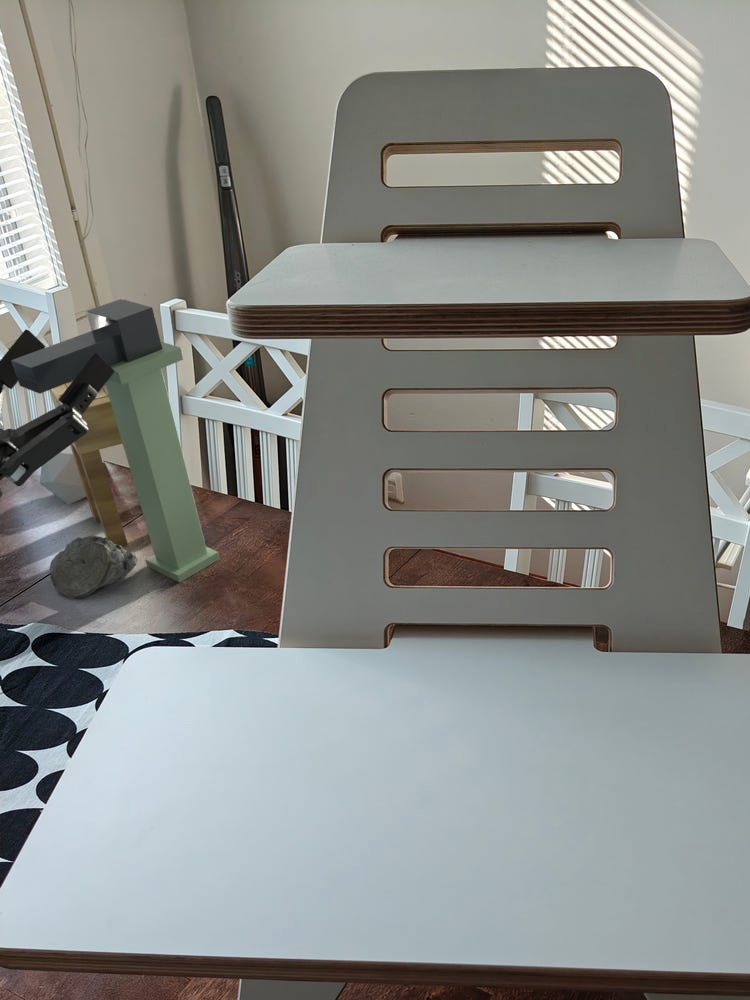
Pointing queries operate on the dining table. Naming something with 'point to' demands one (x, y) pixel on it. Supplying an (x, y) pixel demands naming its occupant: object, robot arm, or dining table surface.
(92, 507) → the go table
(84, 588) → the grey rough chunk
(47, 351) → the t-shaped mallet
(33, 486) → the dining table surface
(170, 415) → the shelf stand
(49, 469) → the die
